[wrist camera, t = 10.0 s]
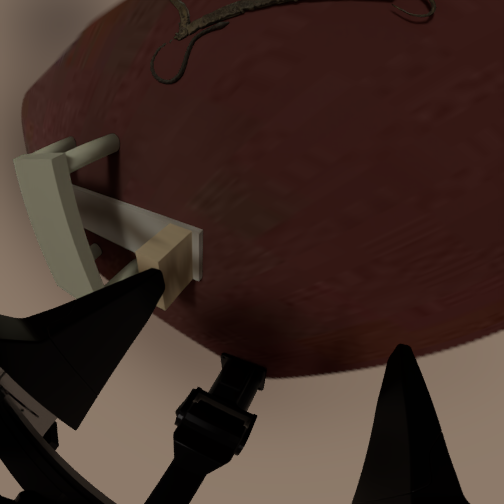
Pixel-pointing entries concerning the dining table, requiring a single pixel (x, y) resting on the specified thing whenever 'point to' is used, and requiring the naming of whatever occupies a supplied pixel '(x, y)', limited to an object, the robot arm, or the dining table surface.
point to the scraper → (146, 239)
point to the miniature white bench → (64, 212)
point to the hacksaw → (222, 24)
